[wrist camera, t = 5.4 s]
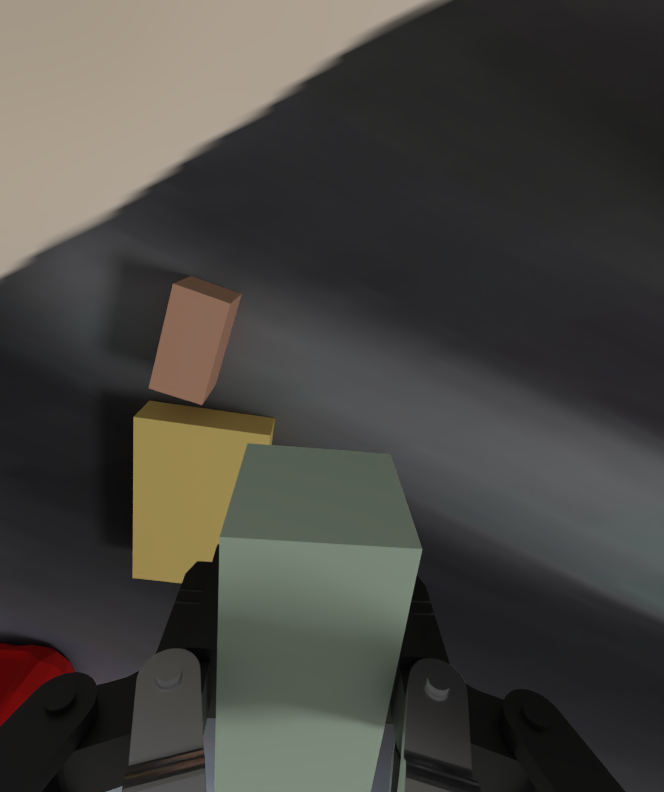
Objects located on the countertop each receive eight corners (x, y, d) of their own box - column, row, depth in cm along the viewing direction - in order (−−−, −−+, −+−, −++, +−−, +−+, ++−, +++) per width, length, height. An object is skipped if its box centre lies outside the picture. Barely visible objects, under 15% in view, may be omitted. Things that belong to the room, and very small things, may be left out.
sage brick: (390, 454, 13) (422, 549, 9) (355, 660, 16) (369, 798, 12) (247, 443, 12) (219, 536, 9) (238, 655, 15) (214, 794, 12)
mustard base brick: (275, 415, 30) (270, 435, 27) (257, 560, 34) (250, 591, 31) (151, 398, 29) (133, 416, 26) (148, 548, 33) (132, 577, 31)
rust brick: (192, 275, 26) (172, 283, 23) (242, 293, 27) (230, 303, 23) (169, 368, 28) (148, 388, 25) (216, 384, 29) (201, 405, 25)
